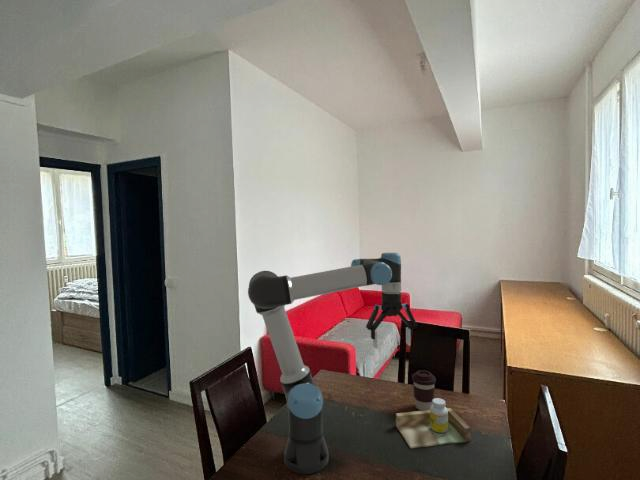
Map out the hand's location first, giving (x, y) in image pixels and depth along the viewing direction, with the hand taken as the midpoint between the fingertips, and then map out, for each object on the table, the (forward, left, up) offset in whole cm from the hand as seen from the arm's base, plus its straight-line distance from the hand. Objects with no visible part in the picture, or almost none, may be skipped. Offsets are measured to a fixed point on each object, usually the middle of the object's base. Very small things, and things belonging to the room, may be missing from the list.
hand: (391, 345), depth 134 cm
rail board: (+12, -8, -32) cm, 35 cm away
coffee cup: (+18, +10, -32) cm, 38 cm away
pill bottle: (+15, -8, -31) cm, 36 cm away
